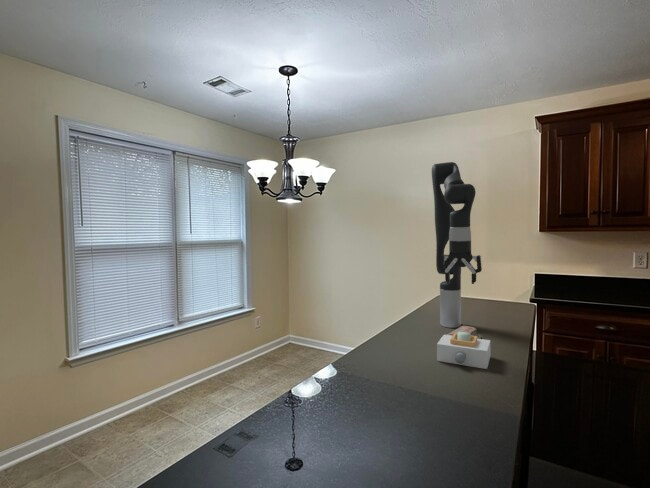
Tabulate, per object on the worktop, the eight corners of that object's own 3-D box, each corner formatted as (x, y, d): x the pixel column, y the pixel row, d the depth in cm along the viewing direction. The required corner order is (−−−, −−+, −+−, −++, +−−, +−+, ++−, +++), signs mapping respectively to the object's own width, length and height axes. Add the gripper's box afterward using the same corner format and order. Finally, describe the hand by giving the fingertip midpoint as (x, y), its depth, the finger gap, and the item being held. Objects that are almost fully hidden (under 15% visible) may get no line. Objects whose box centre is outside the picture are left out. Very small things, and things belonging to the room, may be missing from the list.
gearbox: (444, 350, 135) (443, 330, 134) (490, 356, 127) (490, 336, 126) (435, 363, 122) (434, 342, 121) (486, 372, 114) (486, 349, 113)
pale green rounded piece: (458, 355, 128) (458, 331, 128) (471, 357, 126) (471, 332, 126) (456, 359, 125) (456, 334, 124) (469, 362, 122) (469, 336, 122)
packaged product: (458, 323, 154) (481, 327, 148) (458, 334, 155) (481, 338, 148) (440, 333, 141) (465, 338, 134) (440, 345, 141) (465, 350, 135)
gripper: (482, 238, 130) (482, 282, 131) (441, 238, 137) (442, 280, 138) (480, 240, 123) (480, 286, 124) (437, 240, 130) (438, 283, 131)
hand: (460, 282), depth 131 cm, fingers open, 8 cm apart
